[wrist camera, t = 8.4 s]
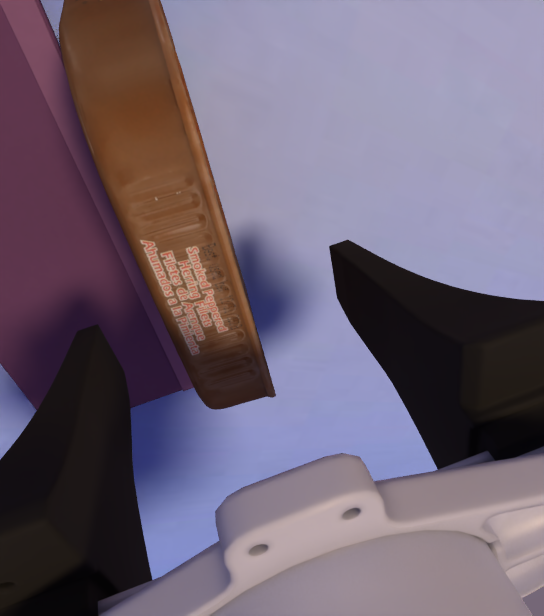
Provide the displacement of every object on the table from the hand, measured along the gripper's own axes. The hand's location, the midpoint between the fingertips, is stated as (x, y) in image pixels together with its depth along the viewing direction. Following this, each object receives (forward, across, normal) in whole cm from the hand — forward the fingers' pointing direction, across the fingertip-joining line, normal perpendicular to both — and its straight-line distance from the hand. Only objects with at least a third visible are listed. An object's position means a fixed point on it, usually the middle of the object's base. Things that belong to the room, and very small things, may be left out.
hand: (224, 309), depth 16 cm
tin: (+8, 0, -1) cm, 8 cm away
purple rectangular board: (+8, +6, 0) cm, 10 cm away
